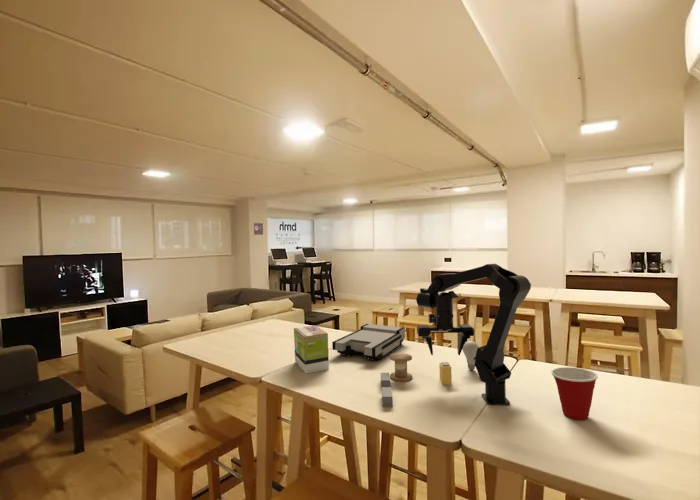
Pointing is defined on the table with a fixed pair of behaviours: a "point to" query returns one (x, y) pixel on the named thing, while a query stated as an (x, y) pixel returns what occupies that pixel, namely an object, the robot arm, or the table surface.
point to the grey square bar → (386, 390)
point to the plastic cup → (575, 391)
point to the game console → (371, 341)
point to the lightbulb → (470, 353)
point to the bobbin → (401, 367)
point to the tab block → (445, 373)
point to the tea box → (311, 349)
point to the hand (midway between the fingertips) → (445, 354)
